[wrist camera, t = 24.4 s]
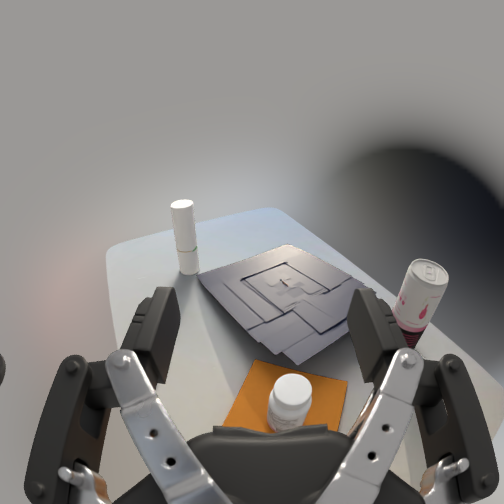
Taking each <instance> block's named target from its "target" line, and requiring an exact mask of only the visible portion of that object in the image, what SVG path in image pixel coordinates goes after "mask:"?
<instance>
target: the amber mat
mask: <svg viewBox="0 0 504 504" xmlns="http://www.w3.org/2000/svg"><path fill="white" fill-rule="evenodd" d="M286 374H299V375H302V376H303V377H305V378H306V379H307V380H308V381H309V382H310V384H311V387H312V393H311V397H312V402H311V406H310V409H309V411H308V413H307V415H306V418H305V421H304V423H303V425H302V426H305V425H317V424H326V423H327V425H328V430H332V431H338V426H339V422H340V418H341V413H342V408H343V403H344V398H345V393H346V388H347V381H342V380H337V379H332V378H327V377H323V376H318V375H314V374H309V373H305V372H301V371H297V370H293V369H289V368H285V367H281V366H277V365H274V364H270V363H266V362H263V361H259V360H256V359H255V360H254V363H253V365H252V367H251V369H250V371H249V373H248V375H247V377H246V379H245V381H244V383H243V386H242V388H241V390H240V392H239V394H238V396H237V398H236V400H235V402H234V404H233V406H232V408H231V410H230V412H229V414H228V416H227V418H226V420H225V422H224V424H223V425H222V426H226V427H243V428H247V429H251V430H256V431H260V432H265V433H276V432H275V431H274V430H272V429H271V428H270V426H269V424H268V422H267V412H268V403H269V396H270V393H271V391H272V389H273V388H274V385H275V383H276V381H277V380H278V379H279V378H280V377H282V376H284V375H286Z"/></svg>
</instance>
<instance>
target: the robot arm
mask: <svg viewBox="0 0 504 504" xmlns="http://www.w3.org/2000/svg"><path fill="white" fill-rule="evenodd" d="M347 325H348V328H349V332H350V335H351V338H352V341H353V345H354V348H355V351H356V355H357V358H358V362H359V365H360V369H361V372H362V376H363V379H364V383H369V382H373V384H374V388H373V390H372V392H371V394H370V396H369V398H368V400H367V402H366V404H365V406H364V407H363V409H362V411H361V413H360V415H359V417H358V419H357V420H356V422H355V424H354V425H353V426H352V428H351V429H350V431H349V432H348V434H347V435H345V434H342V433H340V432H337V431H332V430H328V425H327V423H326V424H317V425H305V426H298V427H295V428H291V429H288V430H284V431H280V432H276V433H265V432H260V431H256V430H251V429H247V428H243V427H226V426H213V432H210V433H205V434H202V435H199V436H196V437H194V438H192V439H190V440H189V441H187V442H186V441H185V439H184V438H183V436H182V435H181V433H180V432H179V430H178V429H177V427H176V426H175V424H174V422H173V421H172V419H171V417H170V416H169V414H168V412H167V411H166V409H165V407H164V406H163V404H162V402H161V401H160V399H159V397H158V395H157V393H156V392H155V389H156V385H157V383H161V384H165V382H166V378H167V374H168V370H169V366H170V361H171V357H172V353H173V349H174V345H175V342H176V338H177V334H178V330H179V326H180V310H179V305H178V301H177V296H176V292H175V289H174V287H157V288H156V290H155V292H154V294H153V297H152V298H147V297H146V298H145V299H144V300H143V301H142V302H141V303H140V304H139V305H138V308H137V310H136V312H135V315H134V317H133V319H132V323H131V324H130V326H129V329H128V331H127V333H126V336H125V338H124V341H123V343H122V346H121V348H120V350H117V351H115V352H113V353H111V354H110V355H109V356H108V358H107V359H106V360H104V361H97V362H89V363H87V362H86V360H85V359H84V358H83V357H82V356H80V355H71V356H69V357H67V358H65V359H64V360H63V361H62V363H61V365H60V366H59V369H58V371H57V374H56V376H55V379H54V381H53V384H52V387H51V389H50V392H49V395H48V397H47V400H46V403H45V406H44V409H43V412H42V415H41V418H40V421H39V424H38V428H37V431H36V435H35V438H34V442H33V445H32V449H31V453H30V457H29V462H28V466H27V471H26V476H25V481H24V490H25V494H26V496H27V498H28V499H29V500H30V502H31V503H32V504H471V503H474V502H476V501H479V500H481V499H484V498H486V497H488V496H490V495H491V494H492V493H493V492H494V491H495V490H496V488H497V486H498V483H499V472H498V467H497V462H496V457H495V453H494V449H493V445H492V441H491V438H490V434H489V431H488V427H487V424H486V421H485V418H484V414H483V411H482V408H481V406H480V403H479V400H478V397H477V394H476V392H475V389H474V387H473V384H472V382H471V379H470V377H469V374H468V372H467V369H466V367H465V365H464V363H463V361H462V360H461V359H460V358H459V357H458V356H456V355H454V354H446V355H444V356H443V357H442V358H441V360H440V361H431V360H424V359H423V358H422V356H421V355H420V354H419V353H418V352H417V351H415V350H414V349H411V348H409V347H408V345H407V343H406V340H405V338H404V336H403V334H402V331H401V329H400V327H399V325H398V323H397V321H396V319H395V317H394V316H393V312H392V310H391V308H390V306H389V305H388V304H387V303H386V302H385V301H384V300H383V299H377V297H376V295H375V293H374V291H373V289H372V288H357V289H355V291H354V293H353V297H352V300H351V303H350V307H349V310H348V314H347ZM443 401H444V402H443ZM444 404H445V405H444ZM114 407H121V410H120V413H121V416H122V419H123V421H124V423H125V425H126V427H127V429H128V431H129V434H130V436H131V438H132V439H133V442H134V444H135V446H136V447H137V449H138V451H139V453H140V455H141V457H142V459H143V460H144V462H145V464H146V466H147V467H148V469H149V471H150V474H149V475H147V476H146V477H145V478H144V479H143V480H141V481H140V482H139V483H137V484H136V485H135V486H134V487H132V488H131V489H130V490H128V491H127V492H126V493H125V494H123V495H122V496H121V497H119V498H118V499H117V500H115V501H114V502H113V503H112V502H111V501H110V499H109V497H108V494H107V485H106V482H105V480H104V479H103V477H102V476H101V475H100V474H98V473H99V466H100V461H101V455H102V450H103V444H104V440H105V435H106V429H107V425H108V421H109V417H110V412H111V408H114ZM445 407H446V409H445ZM414 409H415V413H416V417H417V421H418V425H419V429H420V434H421V438H422V443H423V448H424V453H425V459H426V464H427V470H426V471H425V472H424V474H423V477H422V481H421V482H420V487H421V490H420V492H418V491H416V490H415V489H414V488H412V487H411V486H410V485H408V484H407V483H406V482H405V481H403V480H402V479H401V478H399V477H398V476H397V475H396V474H394V473H393V472H392V471H391V470H389V468H390V466H391V464H392V462H393V460H394V458H395V455H396V453H397V451H398V449H399V447H400V444H401V442H402V440H403V437H404V435H405V433H406V430H407V428H408V425H409V423H410V420H411V417H412V415H413V412H414ZM446 410H447V412H446ZM447 414H448V415H447Z"/></svg>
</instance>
